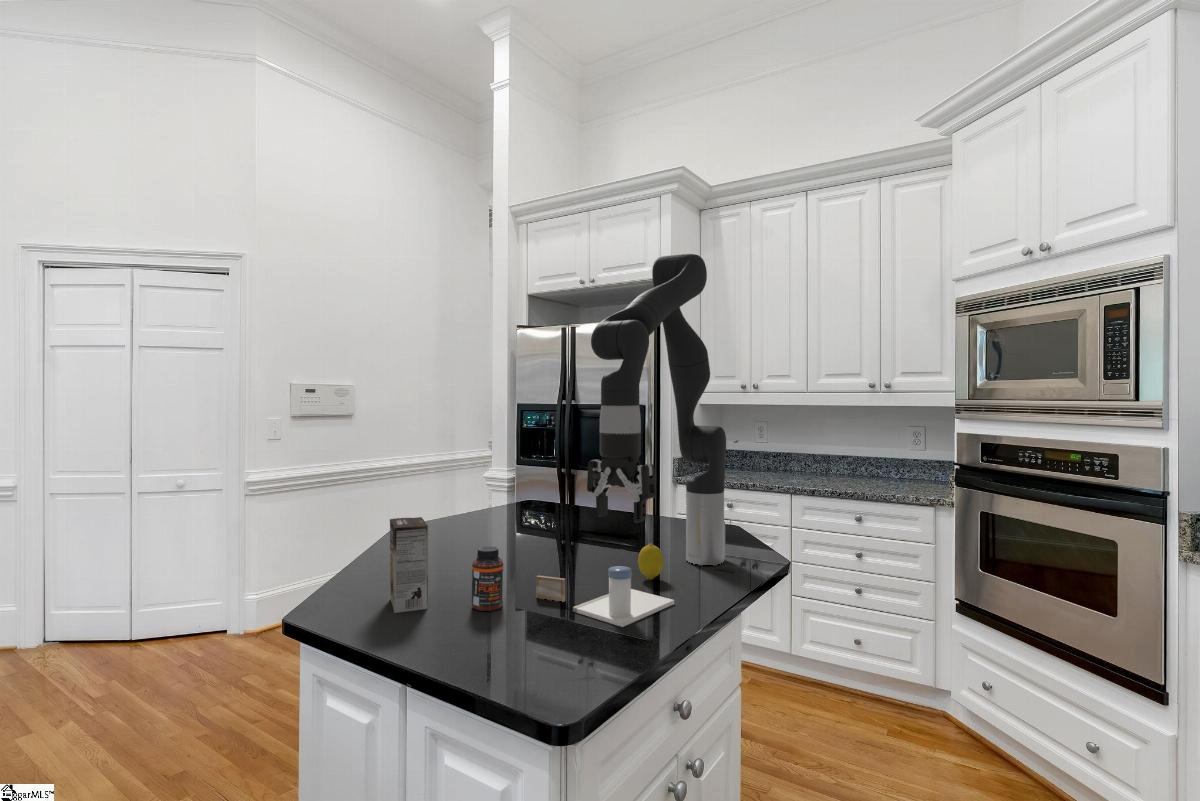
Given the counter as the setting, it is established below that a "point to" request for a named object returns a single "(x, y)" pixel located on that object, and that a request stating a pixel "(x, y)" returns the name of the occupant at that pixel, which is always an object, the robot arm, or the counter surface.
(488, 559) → the supplement bottle
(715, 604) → the counter surface
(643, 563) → the lemon
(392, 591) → the coffee box
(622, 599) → the white blue capped bottle
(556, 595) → the word sign
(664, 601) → the paper pad
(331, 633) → the counter surface
